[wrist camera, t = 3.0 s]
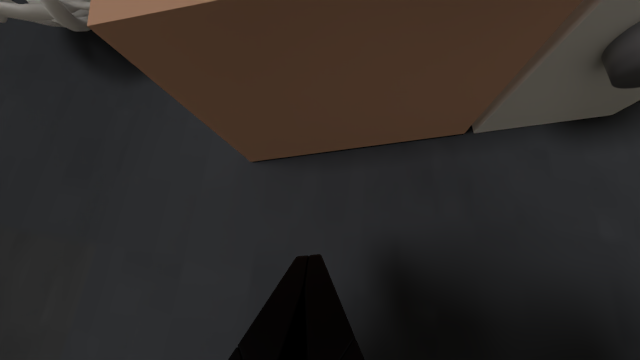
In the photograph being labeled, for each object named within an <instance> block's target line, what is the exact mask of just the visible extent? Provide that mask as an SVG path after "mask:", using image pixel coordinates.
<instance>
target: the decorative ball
mask: <svg viewBox="0 0 640 360" xmlns="http://www.w3.org/2000/svg"><path fill="white" fill-rule="evenodd" d="M26 1H27V2H28V3H29V4H17V3H15V2H13V1H11V0H0V23H5V22H6V21H7V17H9V18H15V19H20V20H25V21H33V22H36V23H40V24H44V25H48V26H55V27H66V28H68V29H70V30H72V31H75V32H79V31H88V30H91V29H90V28H89V27H87V22H88V15H89V8H90V1H91V0H26Z"/></svg>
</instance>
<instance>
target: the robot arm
mask: <svg viewBox="0 0 640 360" xmlns="http://www.w3.org/2000/svg"><path fill="white" fill-rule="evenodd" d="M228 360H364V357H363V355H362V353H361V351H360V348H359V346H358V343H357V341H356V339H355V336H354V334H353V331H352V329H351V326H350V324H349V322H348V319H347V317H346V314H345V312H344V309H343V307H342V305H341V302H340V300H339V297H338V295H337V292H336V290H335V287H334V285H333V283H332V280H331V278H330V275H329V273H328V270H327V268H326V266H325V263H324V261H323V258H322V256H321V255H320V254H317V255H310V256H298V257H296V258H295V260H294V261H293V263H292V264H291V266H290V267H289V269H288V270H287V272H286V273H285V275H284V276H283V278H282V279H281V281H280V282H279V284H278V285H277V287H276V288H275V290H274V291H273V293H272V294H271V296H270V298H269V299H268V301H267V302H266V304H265V305H264V307H263V308H262V310H261V311H260V313H259V314H258V316H257V317H256V319H255V320H254V322H253V323H252V325H251V326H250V328H249V329H248V331H247V332H246V334H245V335H244V337H243V338H242V340H241V341H240V343H239V344H238V347H237V348H236V349H235V350H234V352H233V353H232V355H231V356H230V358H229V359H228Z"/></svg>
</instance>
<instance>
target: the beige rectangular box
mask: <svg viewBox="0 0 640 360" xmlns="http://www.w3.org/2000/svg"><path fill="white" fill-rule="evenodd" d="M639 100H640V0H583V1H582V2H581V3H580V4H579V5H578V6H577V7H576V9H575V10H574V11H573V12H572V13H571V14H570V15H569V16H568V18H567V19H566V20H565V21H564V22H563V23H562V24H561V25H560V27H559V28H558V29H557V30H556V31H555V32H554V33H553V34H552V35H551V37H550V38H549V39H548V40H547V41H546V42H545V43H544V44H543V46H542V47H541V48H540V49H539V50H538V51H537V52H536V53H535V55H534V56H533V57H532V58H531V59H530V60H529V61H528V62H527V64H526V65H525V66H524V67H523V68H522V69H521V70H520V71H519V73H518V74H517V75H516V76H515V77H514V78H513V79H512V80H511V81H510V83H509V84H508V85H507V86H506V87H505V88H504V89H503V90H502V92H501V93H500V94H499V95H498V96H497V97H496V98H495V99H494V101H493V102H492V103H491V104H490V105H489V106H488V107H487V108H486V110H485V111H484V112H483V113H482V114H481V115H480V116H479V117H478V119H477V120H476V121H475V122H474V123H473V124H472V128H473V133H480V132H488V131H495V130H503V129H510V128H518V127H526V126H533V125H541V124H548V123H556V122H563V121H571V120H579V119H586V118H594V117H601V116H609V115H613V114H615V113H617V112H619V111H621V110H623V109H624V108H626V107H628V106H630V105H632V104H634V103H636V102H637V101H639Z"/></svg>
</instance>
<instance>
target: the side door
mask: <svg viewBox="0 0 640 360" xmlns="http://www.w3.org/2000/svg"><path fill="white" fill-rule="evenodd" d="M582 1H583V0H91V1H90V8H89V15H88V22H87V27H89V28H90V29H91V30H92V31H94V32H95V33H96V34H97V35H98V36H100V37H101V38H102V39H103V40H104V41H106V42H107V43H108V44H109V45H110V46H112V47H113V48H114V49H115V50H116V51H118V52H119V53H120V54H121V55H122V56H124V57H125V58H126V59H127V60H129V61H130V62H131V63H132V64H133V65H135V66H136V67H137V68H138V69H139V70H141V71H142V72H143V73H144V74H145V75H147V76H148V77H149V78H150V79H151V80H153V81H154V82H155V83H156V84H157V85H159V86H160V87H161V88H162V89H164V90H165V91H166V92H167V93H168V94H170V95H171V96H172V97H173V98H174V99H176V100H177V101H178V102H179V103H180V104H182V105H183V106H184V107H185V108H186V109H188V110H189V111H190V112H191V113H193V114H194V115H195V116H196V117H197V118H199V119H200V120H201V121H202V122H203V123H205V124H206V125H207V126H208V127H209V128H211V129H212V130H213V131H214V132H215V133H217V134H218V135H219V136H220V137H221V138H223V139H224V140H225V141H226V142H228V143H229V144H230V145H231V146H232V147H234V148H235V149H236V150H237V151H238V152H240V153H241V154H242V155H243V156H244V157H246V158H247V159H248V160H249V161H250V162H253V161H261V160H268V159H276V158H284V157H291V156H299V155H306V154H314V153H321V152H329V151H336V150H344V149H352V148H359V147H367V146H374V145H382V144H389V143H397V142H404V141H412V140H420V139H427V138H435V137H442V136H450V135H457V134H464V133H465V132H466V131H467V130H468V129H469V127H470V126H471V125H472V124H473V123H474V122H475V121H476V120H477V119H478V117H479V116H480V115H481V114H482V113H483V112H484V111H485V110H486V108H487V107H488V106H489V105H490V104H491V103H492V102H493V101H494V99H495V98H496V97H497V96H498V95H499V94H500V93H501V92H502V90H503V89H504V88H505V87H506V86H507V85H508V84H509V83H510V81H511V80H512V79H513V78H514V77H515V76H516V75H517V74H518V73H519V71H520V70H521V69H522V68H523V67H524V66H525V65H526V64H527V62H528V61H529V60H530V59H531V58H532V57H533V56H534V55H535V53H536V52H537V51H538V50H539V49H540V48H541V47H542V46H543V44H544V43H545V42H546V41H547V40H548V39H549V38H550V37H551V35H552V34H553V33H554V32H555V31H556V30H557V29H558V28H559V27H560V25H561V24H562V23H563V22H564V21H565V20H566V19H567V18H568V16H569V15H570V14H571V13H572V12H573V11H574V10H575V9H576V7H577V6H578V5H579V4H580V3H581V2H582Z"/></svg>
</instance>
